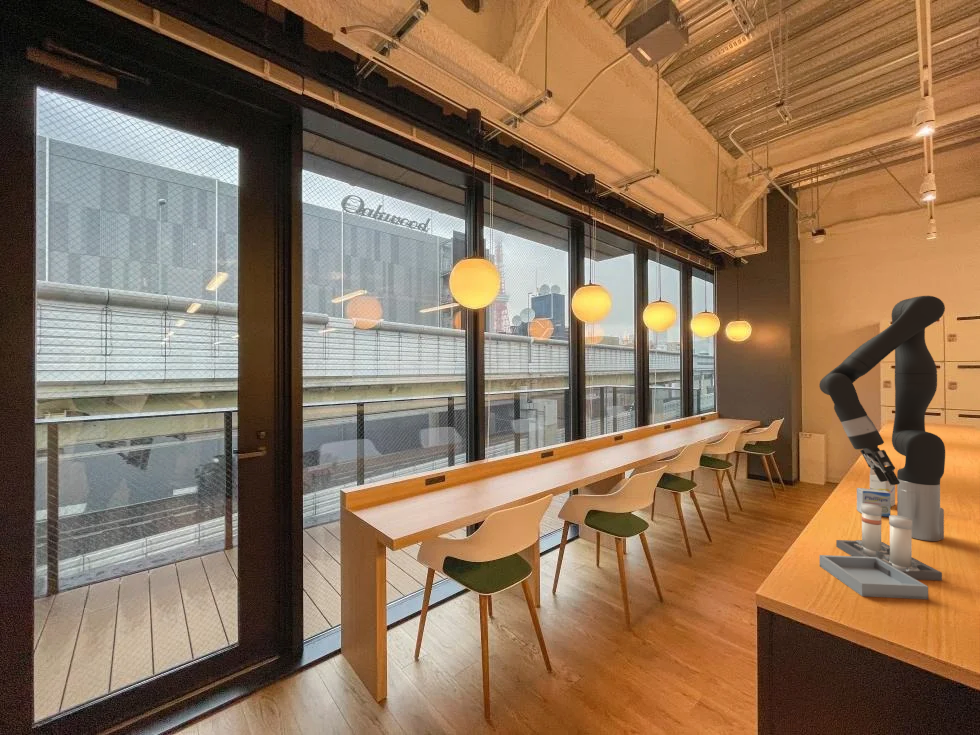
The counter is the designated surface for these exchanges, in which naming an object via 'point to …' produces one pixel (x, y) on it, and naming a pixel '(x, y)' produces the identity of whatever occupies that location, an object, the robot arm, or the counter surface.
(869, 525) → the banded white cylinder
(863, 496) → the medicine box
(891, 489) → the ink box
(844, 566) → the tray
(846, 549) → the clip holder
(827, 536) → the counter surface
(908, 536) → the fuse
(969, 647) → the counter surface
